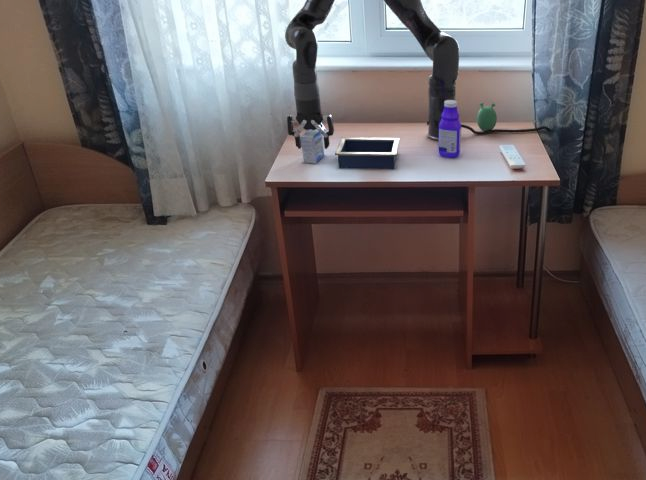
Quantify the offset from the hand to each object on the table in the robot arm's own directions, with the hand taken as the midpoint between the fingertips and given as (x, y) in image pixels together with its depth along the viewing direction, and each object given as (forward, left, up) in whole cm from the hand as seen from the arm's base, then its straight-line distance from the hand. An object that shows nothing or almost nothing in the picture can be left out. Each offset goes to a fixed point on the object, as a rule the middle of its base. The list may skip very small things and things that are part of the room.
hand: (313, 148), depth 214 cm
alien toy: (-57, -31, -4) cm, 65 cm away
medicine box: (0, 0, -4) cm, 4 cm away
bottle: (-44, -5, -4) cm, 44 cm away
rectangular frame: (-18, +1, -4) cm, 18 cm away
